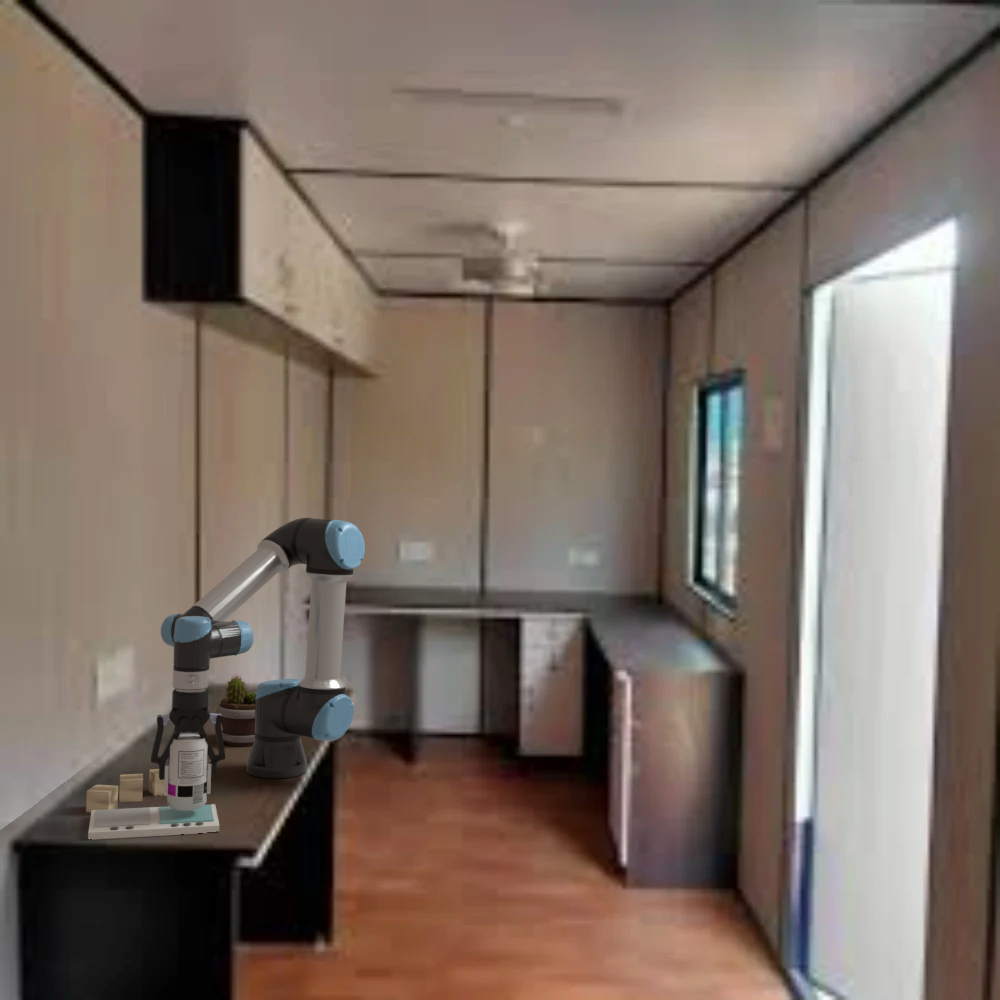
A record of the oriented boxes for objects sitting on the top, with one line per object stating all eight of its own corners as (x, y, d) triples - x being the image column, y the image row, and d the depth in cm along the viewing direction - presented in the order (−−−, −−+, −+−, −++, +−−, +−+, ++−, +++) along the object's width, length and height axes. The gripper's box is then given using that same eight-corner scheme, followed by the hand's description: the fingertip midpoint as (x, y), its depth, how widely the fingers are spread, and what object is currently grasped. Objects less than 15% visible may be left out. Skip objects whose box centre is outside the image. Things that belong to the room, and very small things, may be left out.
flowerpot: (246, 733, 322) (248, 664, 321) (280, 743, 312) (283, 672, 311) (204, 741, 310) (206, 669, 310) (238, 752, 301) (241, 678, 300)
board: (91, 817, 242) (91, 808, 242) (214, 810, 250) (215, 802, 250) (88, 839, 228) (88, 831, 228) (219, 832, 236) (219, 824, 236)
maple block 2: (119, 796, 258) (120, 774, 258) (142, 795, 260) (142, 773, 259) (119, 802, 253) (119, 780, 253) (142, 801, 255) (143, 779, 255)
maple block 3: (148, 790, 263) (149, 769, 263) (170, 788, 266) (170, 767, 266) (154, 796, 259) (155, 775, 259) (176, 793, 262) (177, 772, 262)
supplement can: (159, 808, 239) (161, 739, 239) (181, 798, 247) (183, 730, 247) (192, 813, 237) (194, 743, 236) (213, 803, 245) (215, 735, 244)
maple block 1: (95, 806, 250) (96, 784, 250) (117, 808, 249) (118, 785, 249) (86, 813, 245) (86, 790, 245) (108, 815, 244) (109, 792, 244)
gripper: (139, 693, 234) (136, 800, 235) (241, 691, 241) (238, 795, 241) (139, 686, 241) (136, 790, 242) (239, 684, 248) (235, 785, 249)
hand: (187, 793), depth 242 cm, fingers closed on supplement can, 8 cm apart
